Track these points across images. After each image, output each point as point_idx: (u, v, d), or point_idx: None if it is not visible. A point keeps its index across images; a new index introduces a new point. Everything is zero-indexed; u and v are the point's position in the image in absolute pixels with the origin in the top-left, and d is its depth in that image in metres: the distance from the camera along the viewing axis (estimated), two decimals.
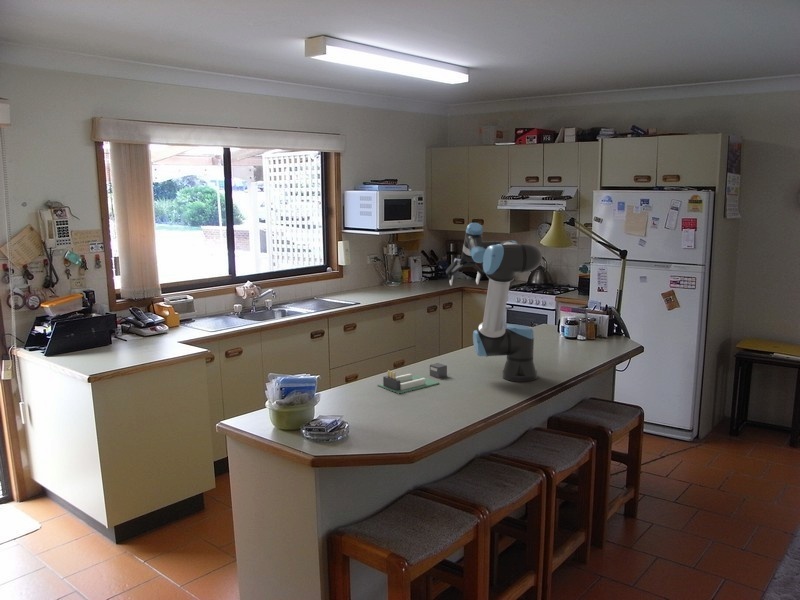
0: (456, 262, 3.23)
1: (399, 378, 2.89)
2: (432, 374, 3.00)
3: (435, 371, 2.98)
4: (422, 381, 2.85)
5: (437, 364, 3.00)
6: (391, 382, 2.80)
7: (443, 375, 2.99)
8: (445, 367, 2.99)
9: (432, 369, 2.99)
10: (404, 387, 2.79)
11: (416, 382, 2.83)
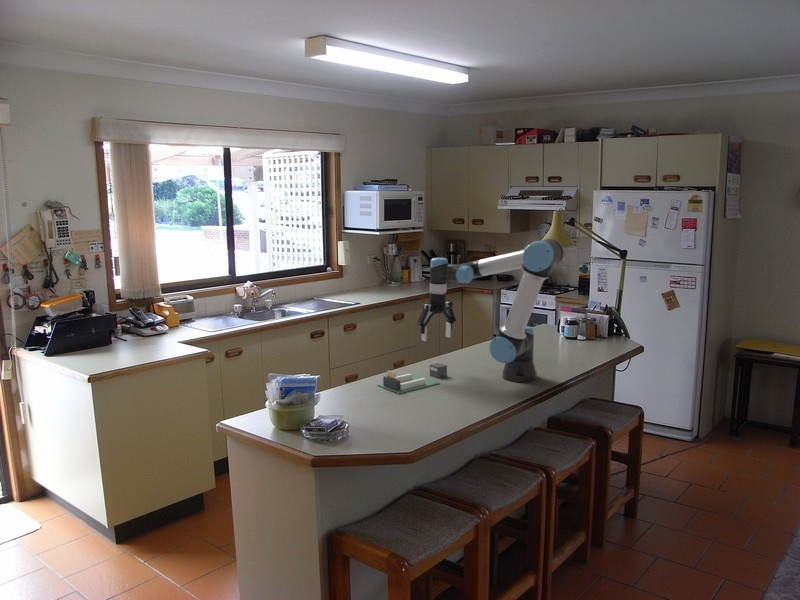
0: (427, 307, 2.95)
1: (399, 378, 2.89)
2: (432, 374, 3.00)
3: (435, 371, 2.98)
4: (422, 381, 2.85)
5: (437, 364, 3.00)
6: (391, 382, 2.80)
7: (443, 375, 2.99)
8: (445, 367, 2.99)
9: (432, 369, 2.99)
10: (404, 387, 2.79)
11: (416, 382, 2.83)
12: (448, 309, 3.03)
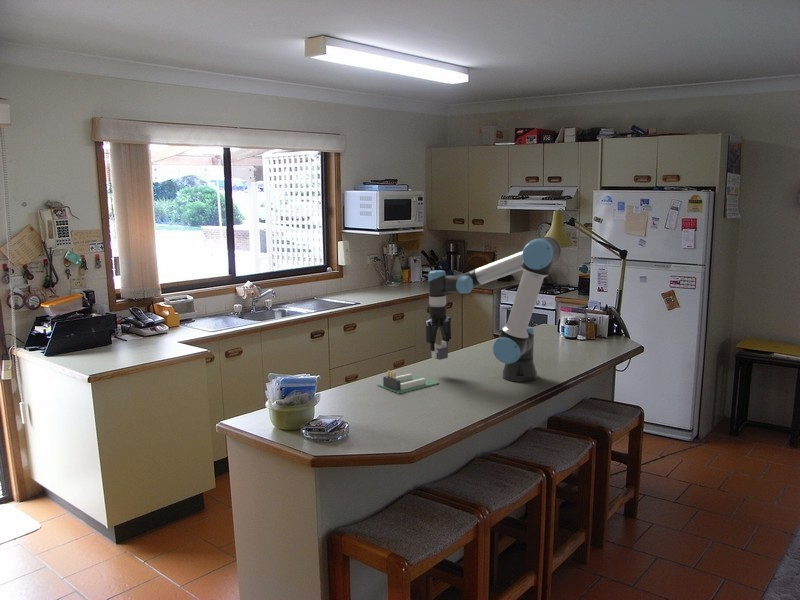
0: (429, 323, 2.92)
1: (399, 378, 2.89)
2: None
3: None
4: (422, 381, 2.85)
5: (438, 346, 2.99)
6: (391, 382, 2.80)
7: (444, 356, 2.97)
8: (446, 348, 2.97)
9: None
10: (404, 387, 2.79)
11: (416, 382, 2.83)
12: (446, 324, 3.00)
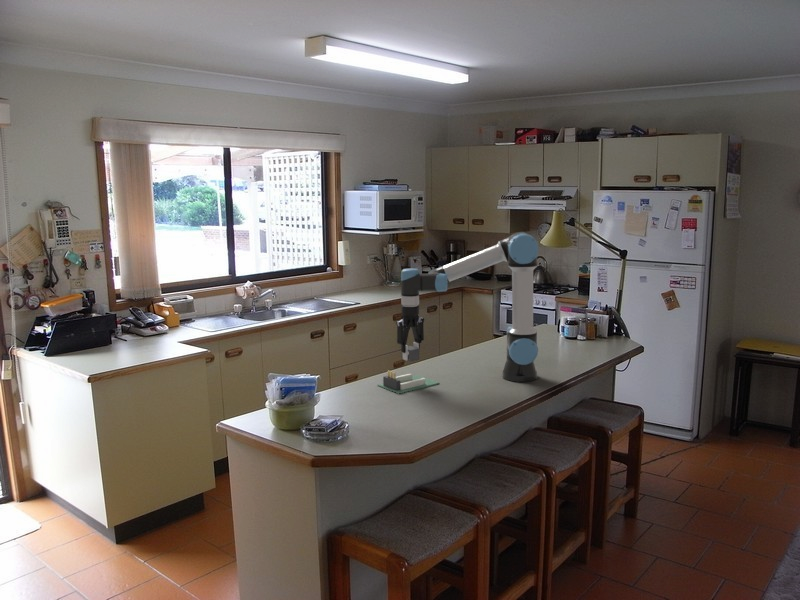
0: (401, 324, 2.79)
1: (399, 378, 2.89)
2: None
3: None
4: (422, 381, 2.85)
5: (409, 347, 2.86)
6: (391, 382, 2.80)
7: (415, 358, 2.85)
8: (417, 350, 2.85)
9: None
10: (404, 387, 2.79)
11: (416, 382, 2.83)
12: (419, 325, 2.87)
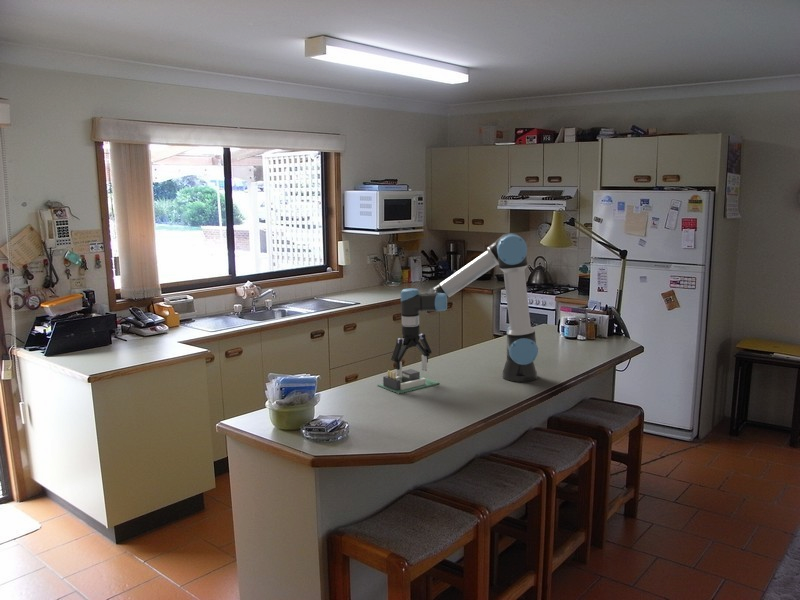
0: (401, 341, 2.80)
1: (399, 378, 2.89)
2: (404, 381, 2.88)
3: (407, 378, 2.86)
4: (422, 381, 2.85)
5: (409, 371, 2.88)
6: (391, 382, 2.80)
7: None
8: (418, 373, 2.86)
9: (404, 376, 2.87)
10: (404, 387, 2.79)
11: (416, 382, 2.83)
12: (422, 341, 2.89)
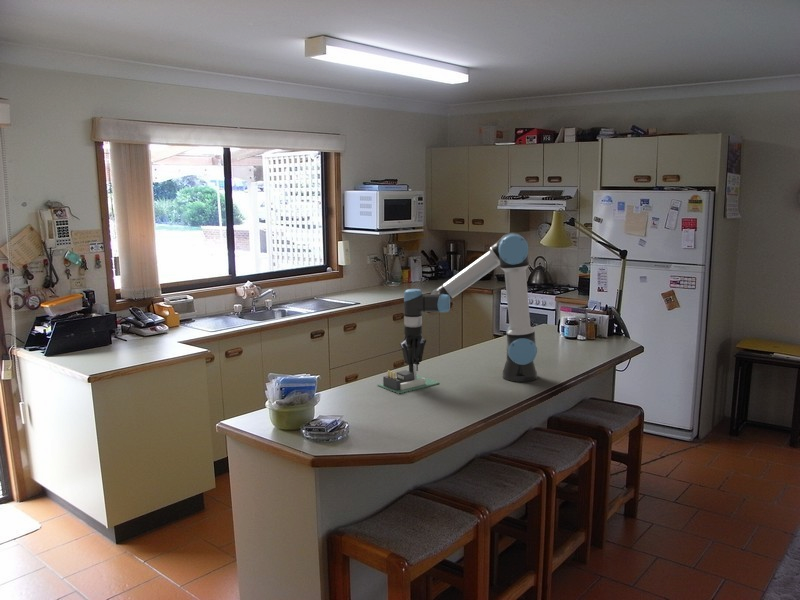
0: (404, 345, 2.82)
1: None
2: None
3: (402, 379, 2.84)
4: (422, 381, 2.85)
5: (404, 372, 2.86)
6: (391, 382, 2.80)
7: None
8: (412, 375, 2.85)
9: (399, 377, 2.86)
10: (404, 387, 2.79)
11: (416, 382, 2.83)
12: (420, 346, 2.89)
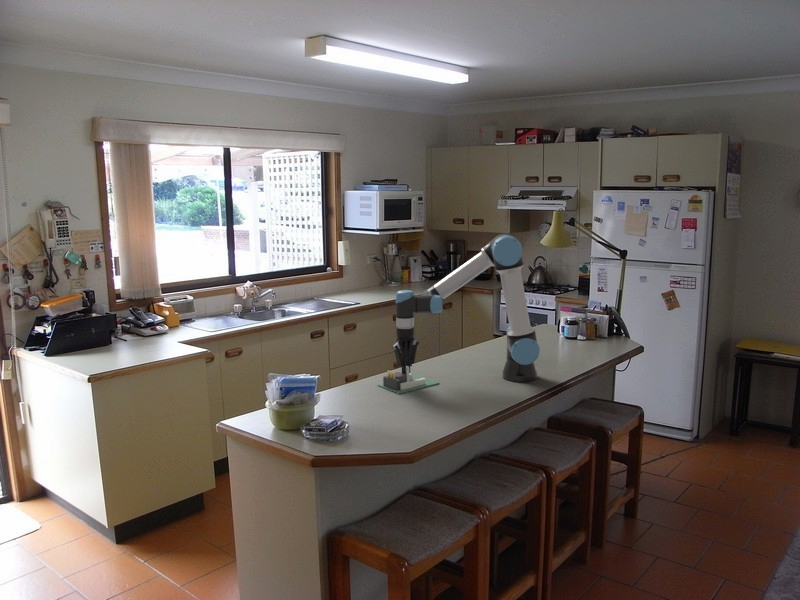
0: (397, 347, 2.80)
1: None
2: None
3: None
4: (422, 381, 2.85)
5: (397, 374, 2.84)
6: (391, 382, 2.80)
7: None
8: (405, 376, 2.82)
9: None
10: (404, 387, 2.79)
11: (416, 382, 2.83)
12: (412, 348, 2.86)
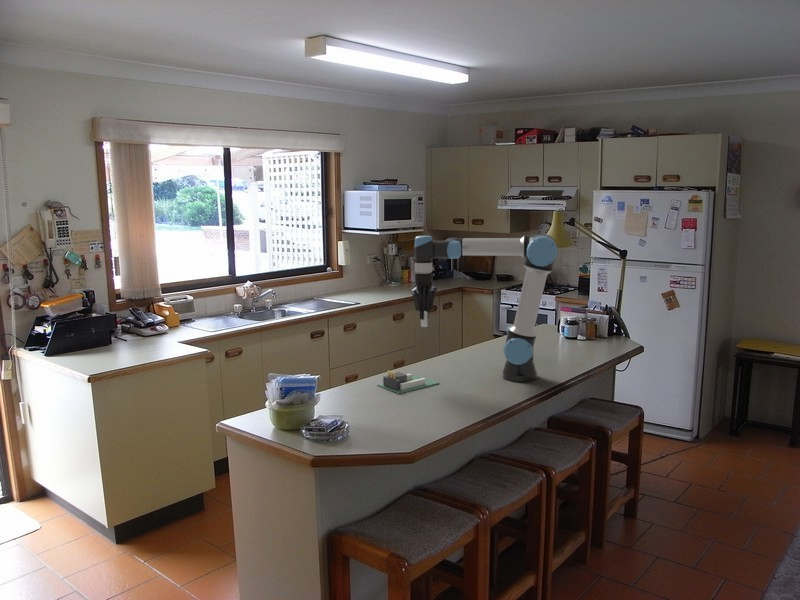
0: (415, 292, 2.82)
1: None
2: None
3: None
4: (422, 381, 2.85)
5: (397, 374, 2.84)
6: (391, 382, 2.80)
7: None
8: (405, 376, 2.82)
9: None
10: (404, 387, 2.79)
11: (416, 382, 2.83)
12: (431, 293, 2.89)
